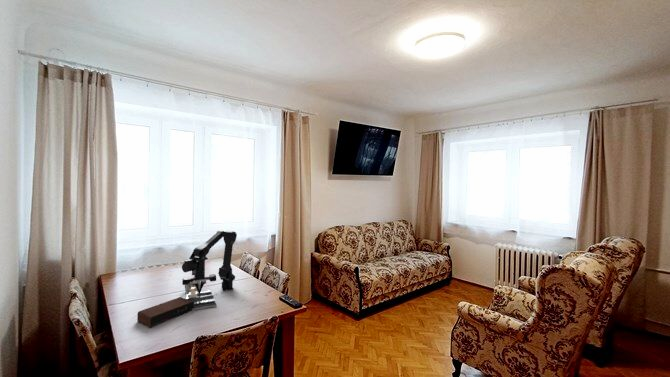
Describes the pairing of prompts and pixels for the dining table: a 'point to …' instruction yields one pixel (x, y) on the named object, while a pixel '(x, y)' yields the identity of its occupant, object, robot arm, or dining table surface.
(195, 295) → the breaker lever
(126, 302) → the dining table surface
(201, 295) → the breaker panel
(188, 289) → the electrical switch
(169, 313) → the dark wooden block
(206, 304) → the rounded grey rails
